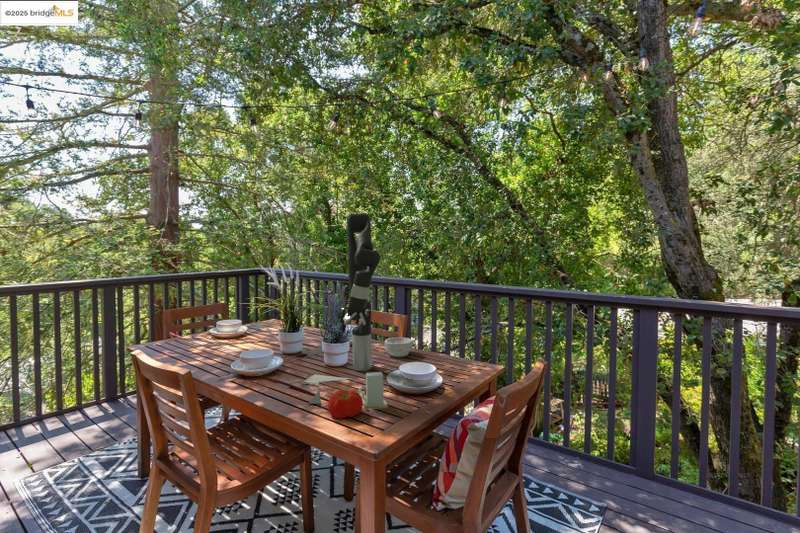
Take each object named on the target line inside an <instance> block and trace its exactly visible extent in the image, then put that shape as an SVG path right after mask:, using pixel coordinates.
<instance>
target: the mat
mask: <svg viewBox="0 0 800 533" xmlns="http://www.w3.org/2000/svg"><path fill="white" fill-rule="evenodd" d="M309 404H316V405H315V406H322V399H321V391H317V392H316V393H315V394H314V396H313V397H312V399H310V401H308V405H309Z"/></svg>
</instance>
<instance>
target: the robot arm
mask: <svg viewBox="0 0 800 533" xmlns="http://www.w3.org/2000/svg"><path fill="white" fill-rule="evenodd" d="M370 218H371V217H370V215H369V214H368V213H348V214H347V217H346V231H347V232H346V233H347V246H348V247H347V248H348V257H347V259H348V261H347V262H348V263H347V266H348V267H347V268H348V270H347V271H348V286H349V288H348V291H349V292H348V307H347V308H344V307H340V309H339V313H338V314H339V315H338V317H337V321H338V322H339V323H340V331H341V333H342V334H343V333H344V334H345V333H346V329H347V324H348V322H350V321H360V324H359V325H356V326H354V327H353V328H352V329H351V333H352V334H351V336H352V337H351V339H352V342H351V343H352V369H353V370H354V371H358V372H365V371H369V370H371V369H372V367H373V365H372V364H373V359H372V358H373V356H372V354H373V353H372V303H371V302H370V301H369V296H370V295H369V294H370V288H371V283H372V278H373V276H374V273H375V271H376V270H377V267H378V266H379V264H380V262H381V261H380V260H381V254H380V253H379V251H377V250H374V244H373V241H372V240H373V239H372V222H371V219H370ZM355 234H358V235H357V236H356V238H355Z"/></svg>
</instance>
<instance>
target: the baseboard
mask: <svg viewBox="0 0 800 533" xmlns="http://www.w3.org/2000/svg"><path fill="white" fill-rule="evenodd" d="M341 380H343V381H344V380H351V378H348V377H342V376H341V377H338V376H331V375H330V376H329V375H320V374H312V375H310V374H308V375H307V376H306V379H305V380H304V379H303V380H301V381H302V382H303V383H304V382H307V383H310V384H315V385H317V386H316V387H320V383H321V382H330V381H332V382H333V381H341Z"/></svg>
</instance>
